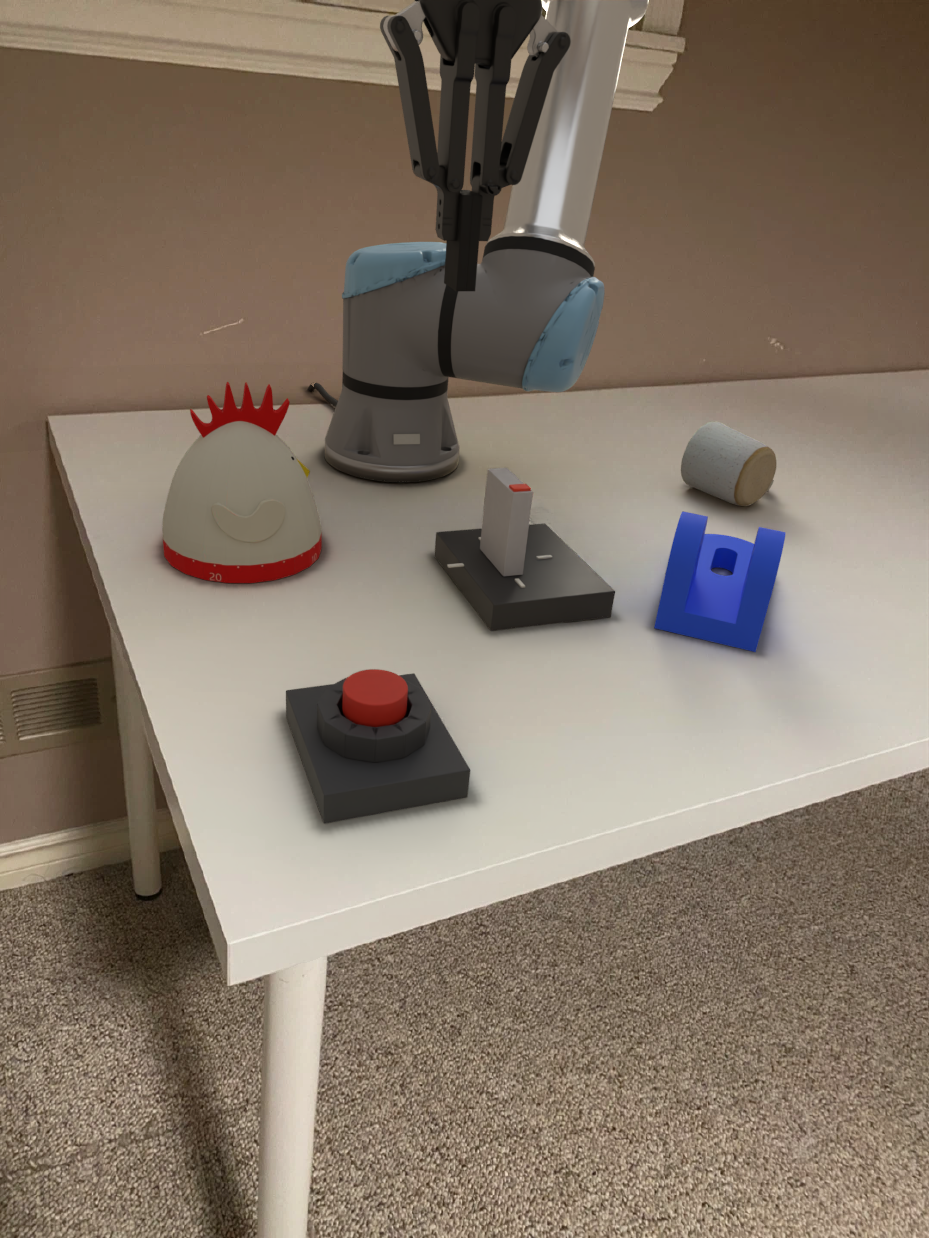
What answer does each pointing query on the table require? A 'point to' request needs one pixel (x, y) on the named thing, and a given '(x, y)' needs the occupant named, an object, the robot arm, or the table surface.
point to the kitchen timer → (241, 499)
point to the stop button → (374, 698)
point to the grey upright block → (506, 521)
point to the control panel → (525, 581)
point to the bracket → (718, 584)
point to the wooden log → (728, 464)
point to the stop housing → (374, 755)
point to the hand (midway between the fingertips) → (459, 287)
